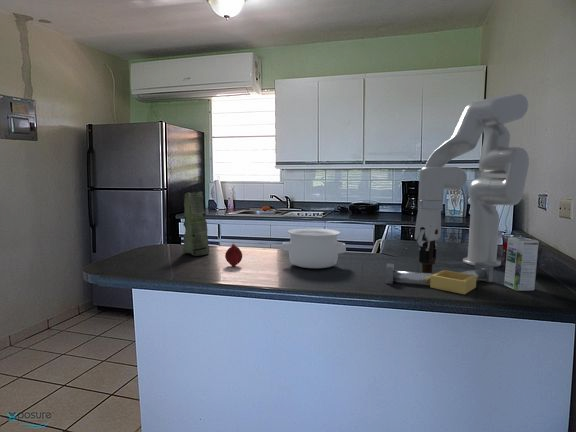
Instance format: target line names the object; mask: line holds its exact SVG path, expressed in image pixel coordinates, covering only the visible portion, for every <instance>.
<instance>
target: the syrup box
mask: <svg viewBox="0 0 576 432" xmlns="http://www.w3.org/2000/svg"><path fill="white" fill-rule="evenodd" d="M538 250H539V240H536V239H531V238H527V237H523V236H513V237H512V236H511V237H508V238H507V247H506V259H505V271H504V280H503V281H504V283H503V285H504V287H506V288H507V287H508V288H510V289H512V290H514V291H515V292H516V291H518V292H520V291H521V292H522V291H525V292H526V291H535V285H536V276H537V263H538V252H539V251H538Z"/></svg>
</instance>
